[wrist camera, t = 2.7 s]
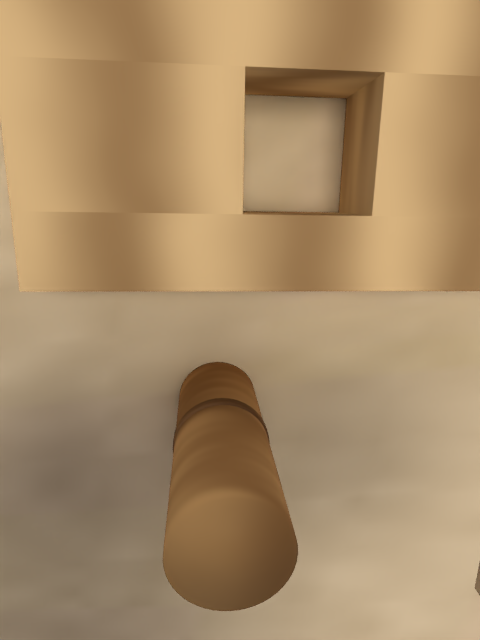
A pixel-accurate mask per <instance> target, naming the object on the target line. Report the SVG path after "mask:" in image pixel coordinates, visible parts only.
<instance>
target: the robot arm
mask: <svg viewBox="0 0 480 640" xmlns="http://www.w3.org/2000/svg"><path fill="white" fill-rule="evenodd" d="M475 589H476V591H477V592H478V593H479V595H480V563H479V568H478V573H477V578H476V584H475Z"/></svg>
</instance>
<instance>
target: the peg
mask: <svg viewBox="0 0 480 640" xmlns="http://www.w3.org/2000/svg"><path fill="white" fill-rule="evenodd" d="M297 556H298V545H297V540H296V536H295V532H294V529H293V525H292V522H291V518H290V515H289V511H288V508H287V504H286V500H285V497H284V493H283V490H282V486H281V483H280V479H279V476H278V472H277V469H276V465H275V462H274V458H273V455H272V451H271V448H270V443H269V436H268V432H267V429H266V426H265V423H264V421H263V419H262V416H261V412H260V409H259V405H258V402H257V398H256V395H255V391H254V388H253V385H252V382H251V380H250V379H249V377H248V376H247V375H246V374H245V373H244V372H243V371H242V370H241V369H239V368H238V367H236V366H234V365H231V364H228V363H223V362H214V363H208V364H205V365H202V366H200V367H198V368H196V369H195V370H193V371H192V372H191V373H190V374H189V375H188V376H187V377H186V379H185V380H184V382H183V384H182V387H181V390H180V396H179V405H178V415H177V425H176V430H175V434H174V441H173V463H172V473H171V483H170V492H169V502H168V511H167V521H166V531H165V540H164V550H163V566H164V571H165V574H166V577H167V579H168V581H169V583H170V584H171V586H172V587H173V588H174V590H175V591H176V592H177V593H178V594H179V595H181V596H182V597H183V598H184V599H186V600H187V601H189V602H190V603H193V604H195V605H197V606H200V607H203V608H206V609H210V610H217V611H234V610H241V609H245V608H249V607H252V606H255V605H257V604H260V603H262V602H264V601H265V600H267V599H269V598H270V597H272V596H273V595H274V594H276V593H277V592H278V591H279V590H280V589H281V588H282V587H283V586H284V585H285V584H286V582H287V581H288V580H289V578H290V576H291V575H292V573H293V571H294V568H295V565H296V562H297Z"/></svg>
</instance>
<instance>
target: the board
mask: <svg viewBox="0 0 480 640" xmlns="http://www.w3.org/2000/svg"><path fill="white" fill-rule="evenodd" d="M245 94H247V95H274V96H301V97H328V98H347V102H346V116H345V130H344V144H343V158H342V173H341V187H340V201H339V213H328V212H258V211H243V169H244V110H245ZM0 121H1V130H2V139H3V147H4V156H5V165H6V174H7V183H8V192H9V201H10V210H11V219H12V228H13V237H14V246H15V255H16V263H17V272H18V281H19V290H20V291H480V0H0Z"/></svg>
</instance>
